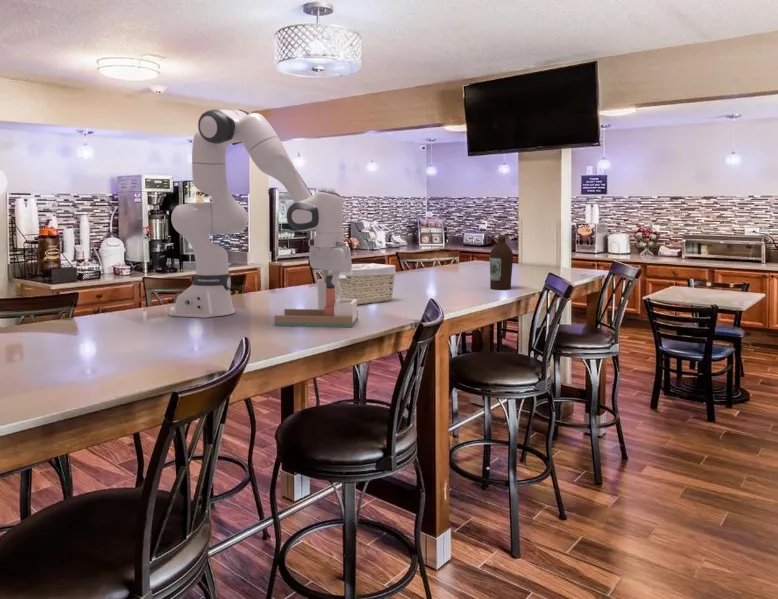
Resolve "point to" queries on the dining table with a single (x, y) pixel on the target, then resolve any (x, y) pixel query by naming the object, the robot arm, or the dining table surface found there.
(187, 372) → the dining table surface
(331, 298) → the post
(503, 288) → the olive oil
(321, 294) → the mug
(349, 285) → the storage basket
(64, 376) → the dining table surface
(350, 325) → the board
